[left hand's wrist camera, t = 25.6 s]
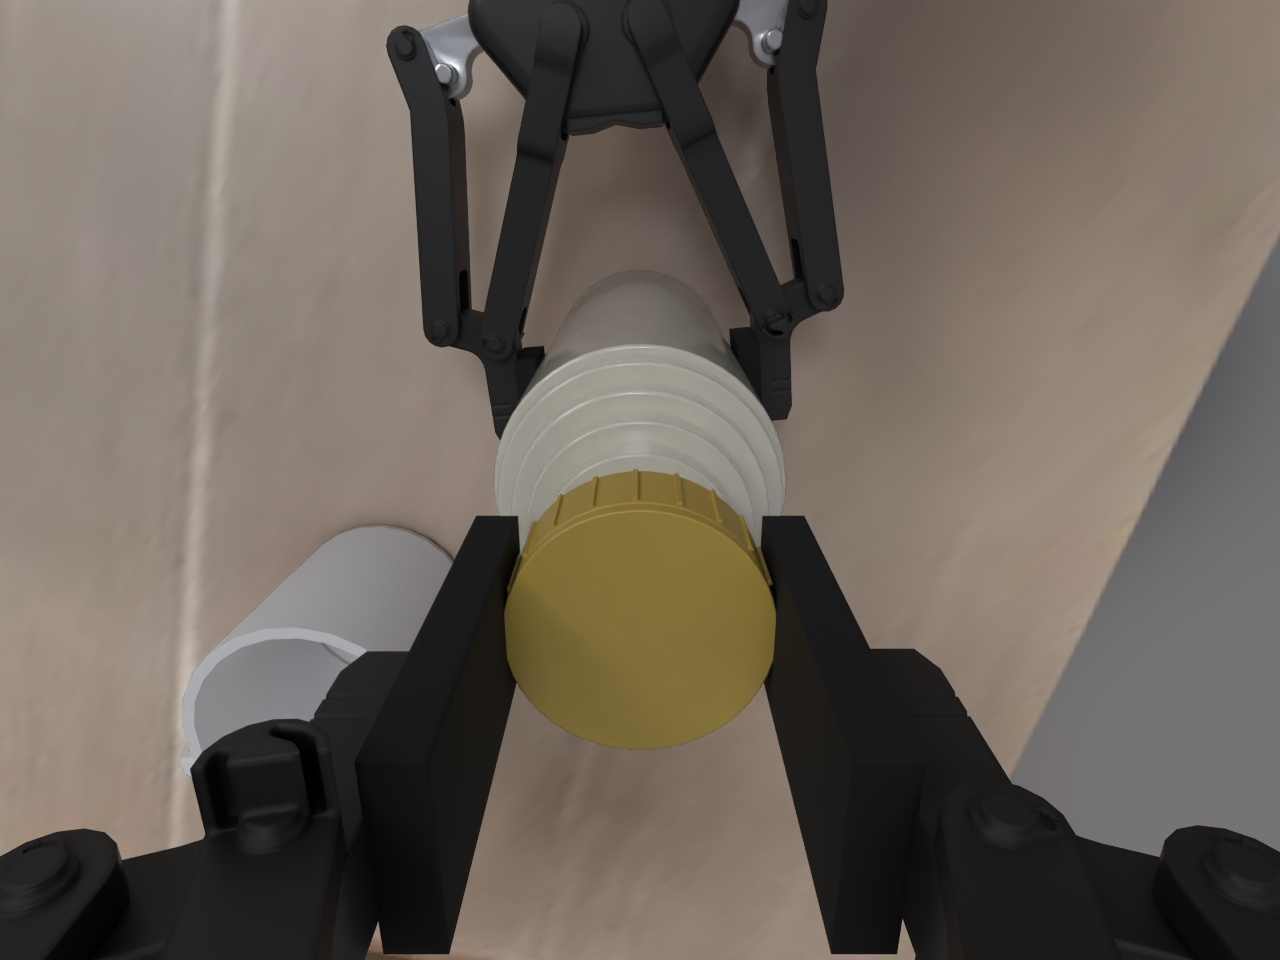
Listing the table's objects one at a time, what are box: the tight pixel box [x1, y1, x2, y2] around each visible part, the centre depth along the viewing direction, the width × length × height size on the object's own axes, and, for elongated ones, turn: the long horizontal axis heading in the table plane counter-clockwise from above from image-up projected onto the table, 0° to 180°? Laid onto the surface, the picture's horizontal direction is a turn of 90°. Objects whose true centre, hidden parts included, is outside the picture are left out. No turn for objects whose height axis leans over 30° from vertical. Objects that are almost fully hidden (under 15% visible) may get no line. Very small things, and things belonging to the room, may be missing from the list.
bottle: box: [494, 271, 786, 554], centre depth 24 cm, size 7×7×23 cm
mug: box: [179, 524, 453, 778], centre depth 34 cm, size 11×9×10 cm
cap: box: [504, 469, 776, 750], centre depth 14 cm, size 5×5×2 cm
